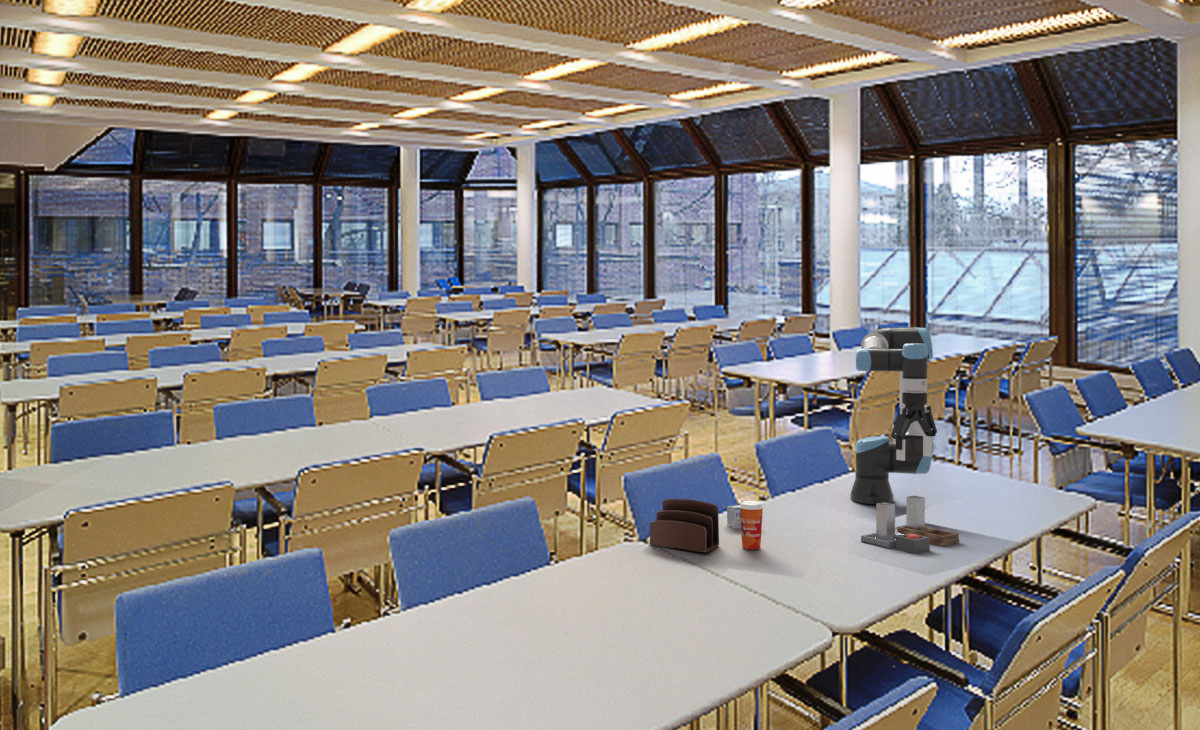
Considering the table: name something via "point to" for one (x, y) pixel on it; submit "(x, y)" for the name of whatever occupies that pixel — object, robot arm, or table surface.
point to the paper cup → (751, 523)
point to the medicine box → (733, 516)
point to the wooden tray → (933, 535)
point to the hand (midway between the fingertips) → (914, 458)
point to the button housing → (913, 544)
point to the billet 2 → (915, 513)
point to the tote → (878, 541)
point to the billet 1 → (885, 521)
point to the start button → (912, 536)
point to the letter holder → (686, 525)
